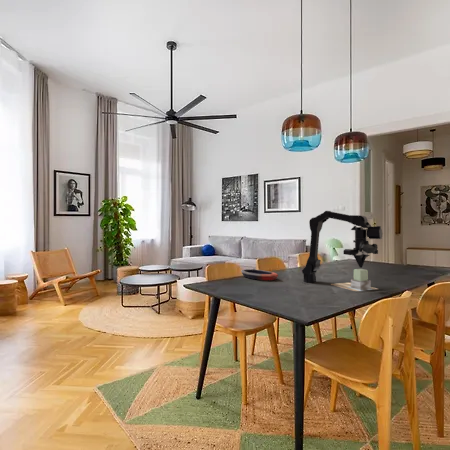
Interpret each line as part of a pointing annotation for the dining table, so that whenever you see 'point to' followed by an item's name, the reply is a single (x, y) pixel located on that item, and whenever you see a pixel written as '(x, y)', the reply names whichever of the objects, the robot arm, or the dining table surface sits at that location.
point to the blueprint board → (344, 285)
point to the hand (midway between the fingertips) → (360, 267)
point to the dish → (259, 274)
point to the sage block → (360, 274)
